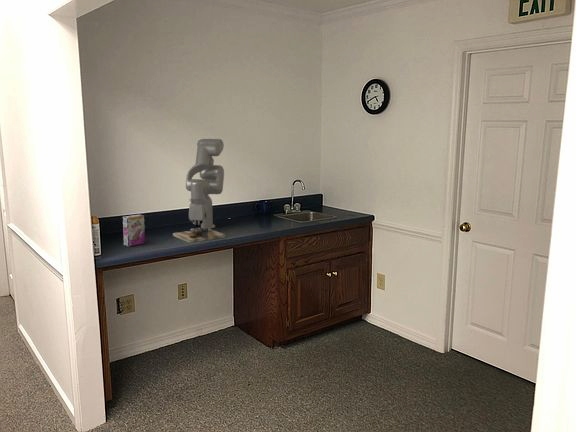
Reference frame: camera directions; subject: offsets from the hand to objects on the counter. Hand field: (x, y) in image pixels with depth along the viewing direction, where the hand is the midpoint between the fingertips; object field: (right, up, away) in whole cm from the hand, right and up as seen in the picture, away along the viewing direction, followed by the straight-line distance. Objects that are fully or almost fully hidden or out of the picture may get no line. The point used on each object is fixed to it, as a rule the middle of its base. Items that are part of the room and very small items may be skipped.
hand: (198, 230), depth 303 cm
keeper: (+4, -3, -11) cm, 12 cm away
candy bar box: (-31, -7, -25) cm, 41 cm away
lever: (+2, -2, -8) cm, 8 cm away
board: (+1, -3, -4) cm, 6 cm away
